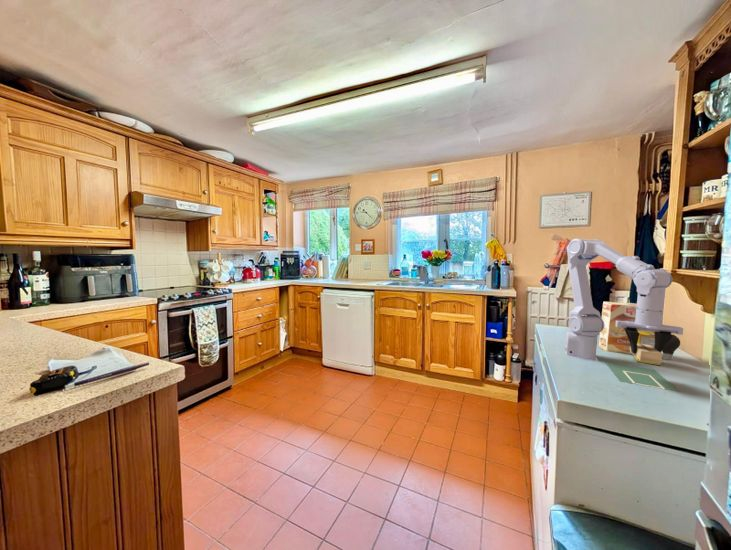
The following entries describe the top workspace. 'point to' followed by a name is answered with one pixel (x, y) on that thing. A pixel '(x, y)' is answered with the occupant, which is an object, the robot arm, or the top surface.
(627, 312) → the coffeecake box
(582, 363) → the top surface
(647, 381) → the green mat
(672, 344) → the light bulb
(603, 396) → the top surface
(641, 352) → the slotted wooden block
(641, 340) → the supplement box
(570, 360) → the top surface
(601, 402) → the top surface
